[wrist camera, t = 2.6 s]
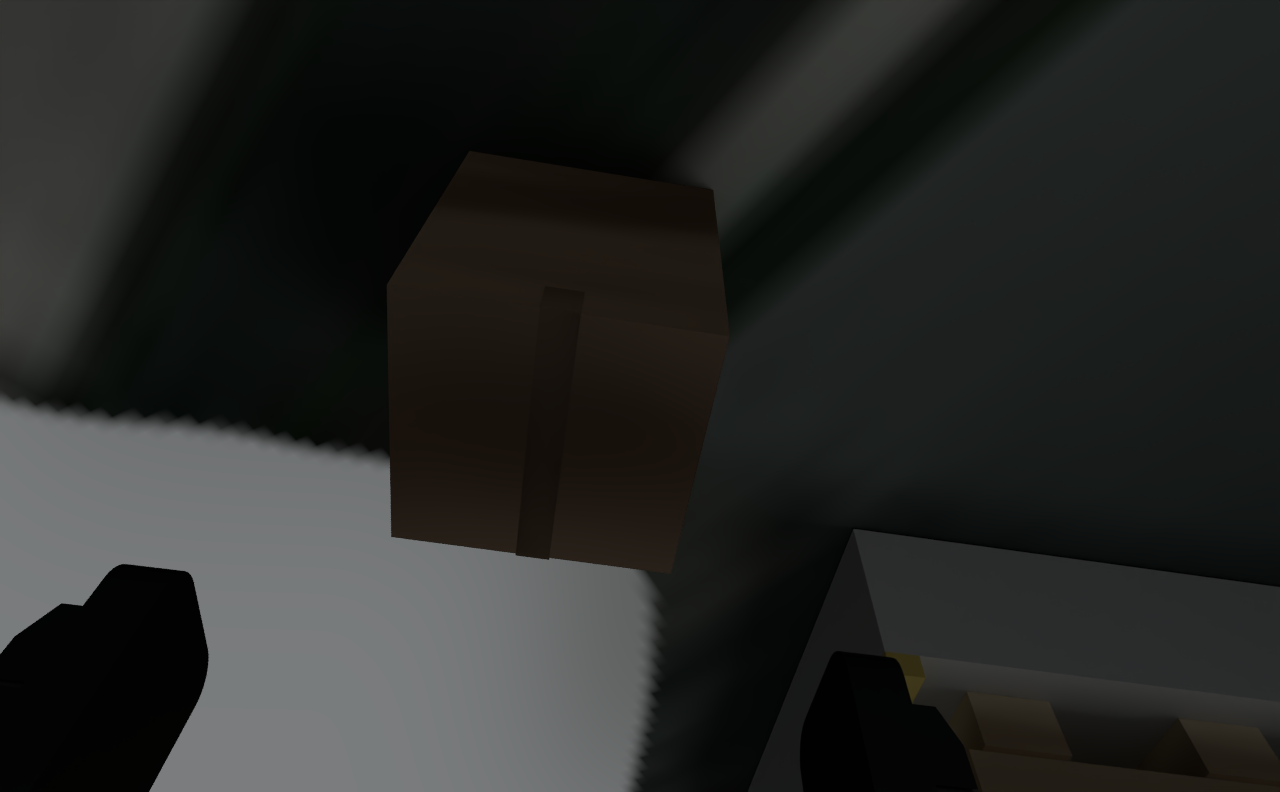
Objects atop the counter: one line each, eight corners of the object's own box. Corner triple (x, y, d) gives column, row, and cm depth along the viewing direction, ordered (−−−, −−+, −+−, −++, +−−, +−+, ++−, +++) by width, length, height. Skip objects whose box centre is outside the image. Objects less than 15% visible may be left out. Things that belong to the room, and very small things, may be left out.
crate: (467, 147, 17) (383, 281, 12) (715, 187, 17) (733, 333, 12) (459, 359, 20) (388, 538, 15) (673, 390, 20) (673, 575, 15)
